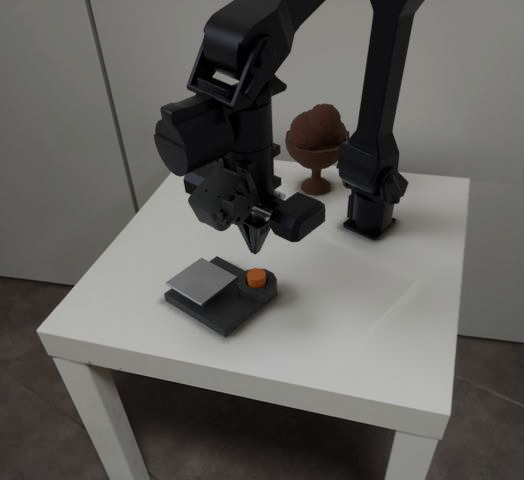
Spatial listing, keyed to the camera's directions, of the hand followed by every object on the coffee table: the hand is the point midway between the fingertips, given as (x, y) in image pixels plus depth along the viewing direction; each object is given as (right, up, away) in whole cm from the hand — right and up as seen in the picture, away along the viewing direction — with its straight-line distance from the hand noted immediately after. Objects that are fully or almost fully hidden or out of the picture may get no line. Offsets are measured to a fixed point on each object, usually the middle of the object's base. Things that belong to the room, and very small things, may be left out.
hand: (255, 252), depth 73 cm
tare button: (0, -4, +4) cm, 5 cm away
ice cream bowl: (+11, +16, +25) cm, 32 cm away
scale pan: (-8, -3, +4) cm, 9 cm away
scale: (-5, -6, +6) cm, 10 cm away
